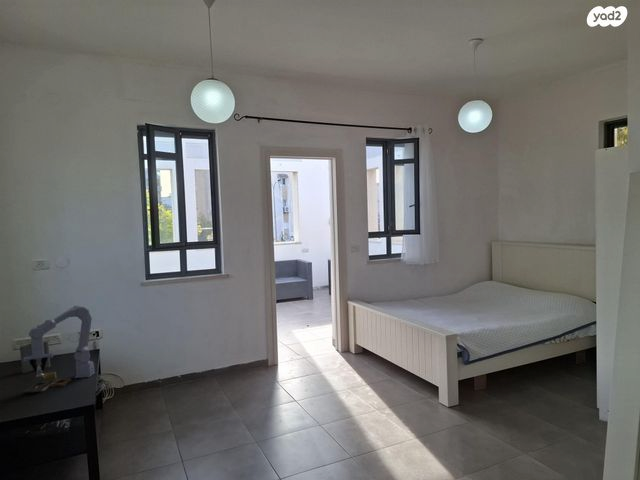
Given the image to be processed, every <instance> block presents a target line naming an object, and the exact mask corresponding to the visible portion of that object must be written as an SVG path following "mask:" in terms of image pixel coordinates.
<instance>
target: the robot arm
mask: <svg viewBox="0 0 640 480" xmlns="http://www.w3.org/2000/svg"><path fill="white" fill-rule="evenodd" d="M73 317H74V318H78V319H79V320H81V324H80V332H79V338H78V346H77V347H76V348H75V352H74V353H73V358H74V360H75V369H76V375H75V376H74V379H75V378H78V379H79V378H90V377H92V376H93V375H94V374H96V372H95V363H94V361H91V360H90V359H91V354H90V349H89V342H90V341H89V340H90V333H91V332H90V331H91V328H92V327H91V326H92V318H93V317H92V315H91V314H90V310H89V309H88V308H87V307H85V306H80V305H74V306H73V307H71V308H68V309H67V310H66V311H64V312H62V313H61V314H60V315H58V316H57V317H55V318H54V319H46V320H45V321H44V322H43V323H42V324H38V325H37V326H36V327H32V328H31V329H30V330H29V331H28V332H29V333H28V335H29V337H30V344H31V345H32V356H29V357H24V358H23V360H24V361H29V360H30V362H29V363H30V364H31V365H32V367H33V369H34V371H33V372H34V373H37V372H36V360H37V359H42V360H41V363H42V371H43V372H44V371H45V369H46V368H45V365H46V361H47V359H48V358H50V359H51V358H53V357H54V353H49V354H44V346H43V341H44V335H45V334H47V333H48V332H50V331H51V330H53V329H55V328H56V327H57V325H58V324H60V323H61V322H63V321H65V320H67V319H69V318H73Z"/></svg>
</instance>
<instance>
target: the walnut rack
mask: <svg viewBox="0 0 640 480" xmlns="http://www.w3.org/2000/svg"><path fill="white" fill-rule="evenodd" d="M71 381H72V378H59V379H58V378H57V379H56V380H54V382H53V383H51V384H50V388H51V387H53V388H54V387H55V388H56V387H64V386H66V385H67V384H69V383H70V382H71Z"/></svg>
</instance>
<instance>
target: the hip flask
mask: <svg viewBox="0 0 640 480" xmlns="http://www.w3.org/2000/svg"><path fill="white" fill-rule="evenodd" d="M49 343H50V342H49V340H43V346H44V354H50V344H49ZM19 351H20V363H21V373H22V374H26V373H29V372H35V371H34V369H33V367H32V365H31V364H30V363H29V362H30V360H29V361H24V360H23V358H24V357H29V356H32V345H31V343H28V344H24V345H19ZM41 360H42V359H37V360H36V364H40V363H41ZM50 367H51V357H50V358H48V359H47V361H46V365H45V369H47V368H50Z"/></svg>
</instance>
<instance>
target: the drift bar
mask: <svg viewBox="0 0 640 480" xmlns="http://www.w3.org/2000/svg"><path fill="white" fill-rule="evenodd" d="M43 373H44V376H42V378H41V379H40V380H39V381H37V382H35V383H34V384H32V385H31V386H29V387H28V388H27V389H24V390H23V391H22V394H25V393H26V394H27V393H38V392H41V391H40V390H41V389H43V388H44V387H46V386H47V385H49V384H50V383H51V382H53V381H56V380H57V379H58V377H57V372H56V371H53V372H43ZM39 384H44V385H42V386H39V387H38V388H36V386H37V385H39ZM34 388H36V389H34Z"/></svg>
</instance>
